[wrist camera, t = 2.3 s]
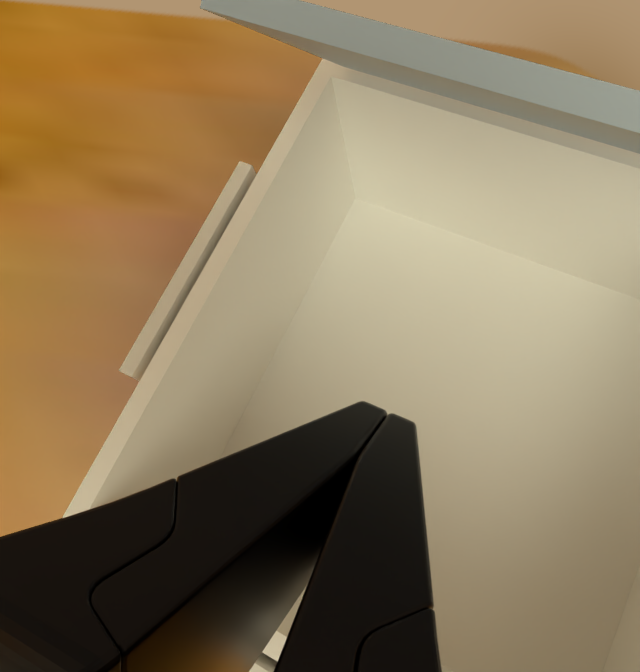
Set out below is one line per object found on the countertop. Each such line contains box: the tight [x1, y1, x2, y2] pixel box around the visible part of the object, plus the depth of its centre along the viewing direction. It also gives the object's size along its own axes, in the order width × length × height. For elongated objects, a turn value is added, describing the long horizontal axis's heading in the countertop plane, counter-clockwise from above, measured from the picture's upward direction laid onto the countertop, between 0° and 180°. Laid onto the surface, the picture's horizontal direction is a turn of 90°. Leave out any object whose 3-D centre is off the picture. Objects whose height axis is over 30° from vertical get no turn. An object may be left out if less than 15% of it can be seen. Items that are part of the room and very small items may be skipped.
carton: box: [62, 59, 640, 672], centre depth 17 cm, size 15×15×7 cm
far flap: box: [200, 0, 640, 154], centre depth 12 cm, size 7×12×1 cm
